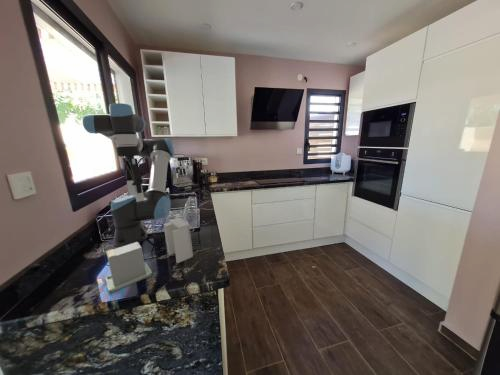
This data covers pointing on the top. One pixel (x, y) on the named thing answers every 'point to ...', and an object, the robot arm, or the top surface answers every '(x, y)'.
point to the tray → (112, 288)
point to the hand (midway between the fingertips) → (136, 197)
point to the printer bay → (178, 239)
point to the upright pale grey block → (126, 263)
